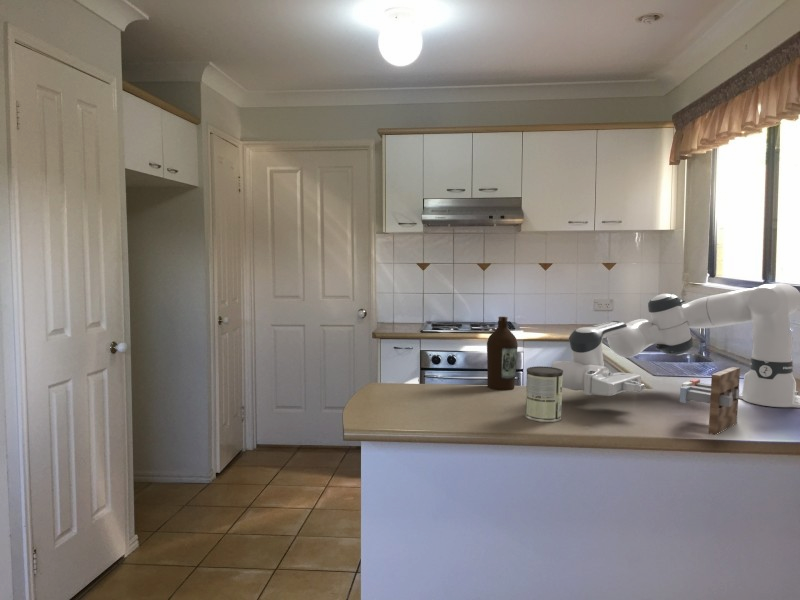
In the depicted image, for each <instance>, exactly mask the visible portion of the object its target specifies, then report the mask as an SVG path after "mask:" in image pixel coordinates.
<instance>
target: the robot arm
mask: <svg viewBox="0 0 800 600" xmlns="http://www.w3.org/2000/svg"><path fill="white" fill-rule="evenodd" d="M685 302H686V300H685V299H684V298H681V297H680V296H678V295H676V294H673V293H661V294H657V295H655V296H654V297H653V298H651V299H650V300H649V301H648V302H647V309H648V313H649V314H650V320H651V321H650V320H648V319H645V318H639V319H635V320H630V321H628V322H624V321H620V320H611V321H606V322H603V323H598V324H594V325H591V326H583V327H578V328H575V329H574V330H573V331H572V332H571V334H570V335H569V337H568V339H569V340H568V342H569V345H570V350H571V360H572V361H568V360H567V361H566V360H565V361H564V360H557V361H553V363H552V364H551V366H550V367H554V368H559V369H561V370H563V374H562V389H566V390H570V391H582V392H583V393H584V395H587V396H594V395H597V396H605V397H608V396H609V397H610V396H614V395H617V394H620V393H624V392H627V391H628V392H630V391H632V392H641V391H644V390H645V389H646V387H645V386H646V385H645V384H644V383H642V376H641V375H640V374H637V373H630V372H619V371H618V372H614V373H612V371H610V370H609V368H608V367H606V366H605V365H604V355H603V339H605V338H606V340H607V343H608V346H609V348H610V350H611V351H612V352H613V353H614V354H616V355H617V356H619V357H622V358H633V357H635V356H637V355H639V354H641V352H643V351H644V350H646V349H647V348H648V347H650V346H653V345H655V346H654V347H655V349H656V350H657V351H661V352H662V353H664V354H666V355H668V356H682V355H684V354H686V353H687V352H690V351H691V350H692V348H693V346H694V339H693V337H692V332H691V329H712V328H720V327H726V326H733V325H739V324H745V323H751V327H752V337H753V338H752V350H751V351H752V353H751V358H750V360H749V369H750V370H749V371H748V372H746V373H745V374H744V375H743V376H744V378H743V385H742V393H739V397H738V399H741V400H743V401H745V402H747V403H750V404H755V405H758V406H766V407H772V408H773V407H774V408H798V409H799V408H800V395H799V391H797V390H796V389H797V388H796V387H797V382H796V379H795V377H794V375H793V372H794V370H793V369H794V365H793V364H794V362H793V360H792V355H793V354H792V353H793V339H794V338H793V334H792V332H791V331H792V330H791V325H790V317H789V316H790V315H793V314H794V313H795V312H797V310H798V309H799V308H800V291H799V290H798V288H796V287H795V286H793V285H791V284H788V283H784V282H778V283H765V284H761V285H758V286H756V287H752V288H744V289H740V290H733V291H727V292H724V293H719V294H718V293H717V294H712V295H707V296H704V297H699V298H697V299H693V300H692V301H689V302H686V303H685Z"/></svg>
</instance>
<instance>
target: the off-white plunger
mask: <svg viewBox="0 0 800 600" xmlns="http://www.w3.org/2000/svg"><path fill="white" fill-rule="evenodd" d="M684 386H691V390H695V391H701V392H707V393H711V389H710V388H703V387H697V386H692V382H690V381H685V382H683V383H681V387H684ZM727 396H732V392H729V391H727Z"/></svg>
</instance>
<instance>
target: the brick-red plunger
mask: <svg viewBox="0 0 800 600" xmlns="http://www.w3.org/2000/svg"><path fill="white" fill-rule="evenodd" d="M689 382H692V386H697V387H703V388H710V389H711V384H709V383H705V382H704V383H703V382H702V383H701V380H700V379H698V378H694V379H691V380H689ZM739 394H740V388H739V389H737V388H734V398H738V397H739ZM738 399H739V398H738Z"/></svg>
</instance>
